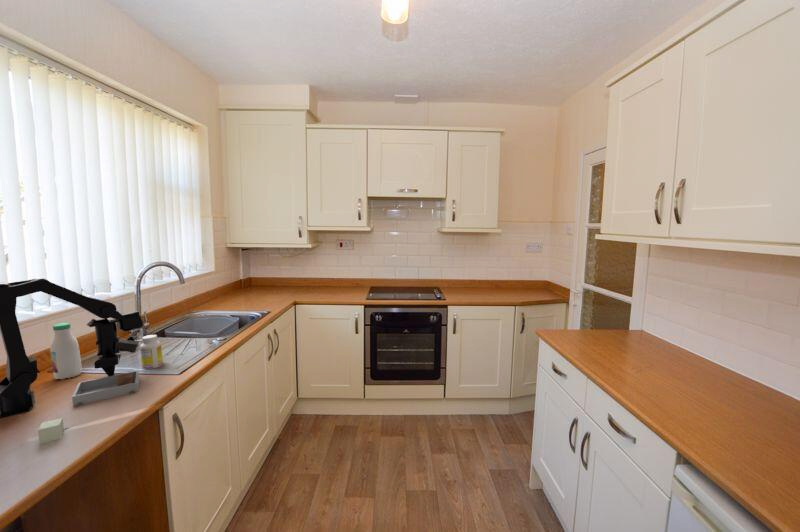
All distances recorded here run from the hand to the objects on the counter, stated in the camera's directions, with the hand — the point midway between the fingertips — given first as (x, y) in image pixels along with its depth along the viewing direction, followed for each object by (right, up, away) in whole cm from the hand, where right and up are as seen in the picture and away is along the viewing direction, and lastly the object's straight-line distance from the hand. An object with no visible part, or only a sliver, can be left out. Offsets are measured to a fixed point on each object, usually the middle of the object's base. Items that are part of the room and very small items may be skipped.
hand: (111, 377), depth 125 cm
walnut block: (+10, -1, -6) cm, 12 cm away
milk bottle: (-21, -1, +5) cm, 21 cm away
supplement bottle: (+6, 0, +12) cm, 14 cm away
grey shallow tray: (+6, -3, -9) cm, 11 cm away
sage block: (+11, -6, -32) cm, 35 cm away
